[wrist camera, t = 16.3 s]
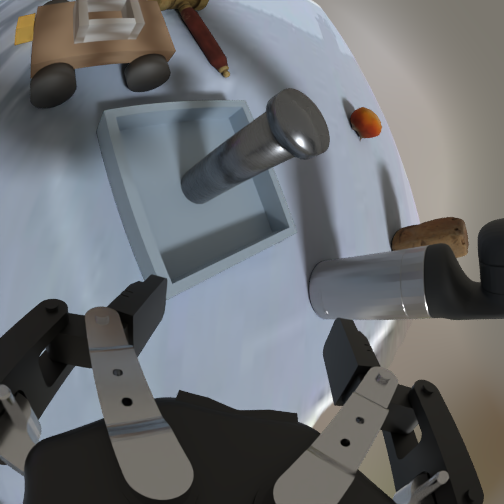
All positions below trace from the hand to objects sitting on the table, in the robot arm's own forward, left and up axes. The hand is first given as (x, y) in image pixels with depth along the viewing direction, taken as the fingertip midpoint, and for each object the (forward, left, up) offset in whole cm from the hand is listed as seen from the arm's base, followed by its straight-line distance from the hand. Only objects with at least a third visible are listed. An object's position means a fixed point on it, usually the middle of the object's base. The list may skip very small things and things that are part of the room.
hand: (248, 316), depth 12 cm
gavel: (-19, -35, -16) cm, 43 cm away
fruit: (-60, -16, -16) cm, 64 cm away
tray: (-10, -9, -16) cm, 21 cm away
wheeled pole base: (-2, -30, -16) cm, 34 cm away
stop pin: (-10, -9, -15) cm, 20 cm away
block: (-61, +16, -16) cm, 65 cm away
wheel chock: (+7, -37, -16) cm, 41 cm away
